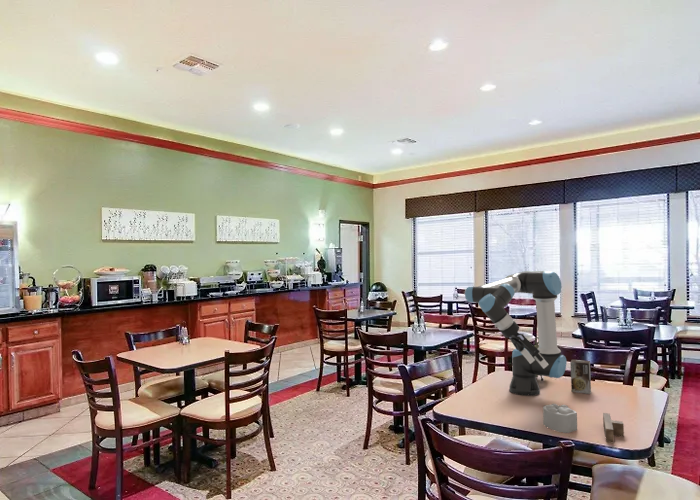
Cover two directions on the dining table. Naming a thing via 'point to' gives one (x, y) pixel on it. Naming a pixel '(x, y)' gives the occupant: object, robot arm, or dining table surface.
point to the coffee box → (580, 376)
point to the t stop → (612, 427)
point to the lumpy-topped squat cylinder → (560, 418)
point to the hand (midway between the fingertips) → (539, 364)
